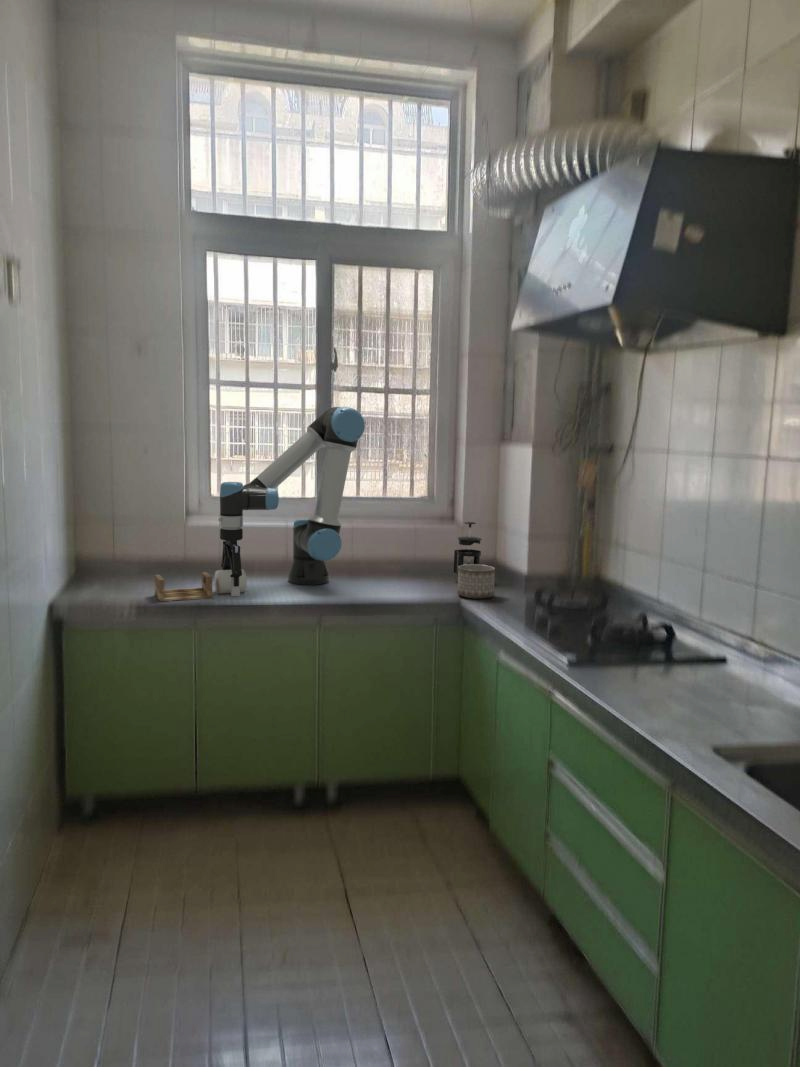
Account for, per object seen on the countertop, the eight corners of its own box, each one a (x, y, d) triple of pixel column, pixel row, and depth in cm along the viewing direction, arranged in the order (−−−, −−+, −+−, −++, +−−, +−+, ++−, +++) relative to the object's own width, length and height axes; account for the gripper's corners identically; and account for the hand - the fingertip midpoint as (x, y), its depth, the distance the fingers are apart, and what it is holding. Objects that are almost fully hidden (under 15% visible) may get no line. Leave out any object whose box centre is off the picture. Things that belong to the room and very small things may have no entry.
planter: (454, 592, 292) (455, 564, 291) (488, 592, 294) (490, 564, 292) (461, 600, 280) (462, 570, 278) (497, 600, 281) (498, 570, 280)
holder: (205, 591, 282) (205, 571, 281) (213, 598, 272) (213, 577, 271) (154, 595, 275) (154, 574, 274) (160, 602, 265) (160, 580, 264)
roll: (241, 593, 286) (239, 571, 287) (247, 590, 279) (245, 567, 280) (215, 595, 282) (213, 572, 283) (220, 592, 275) (218, 568, 276)
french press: (486, 583, 311) (489, 522, 308) (471, 586, 304) (473, 524, 301) (462, 578, 319) (464, 519, 316) (446, 581, 312) (449, 521, 309)
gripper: (212, 523, 286) (212, 586, 289) (228, 533, 266) (228, 600, 269) (233, 523, 289) (233, 585, 292) (251, 532, 269) (251, 598, 272)
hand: (231, 592), depth 280 cm, fingers open, 10 cm apart
